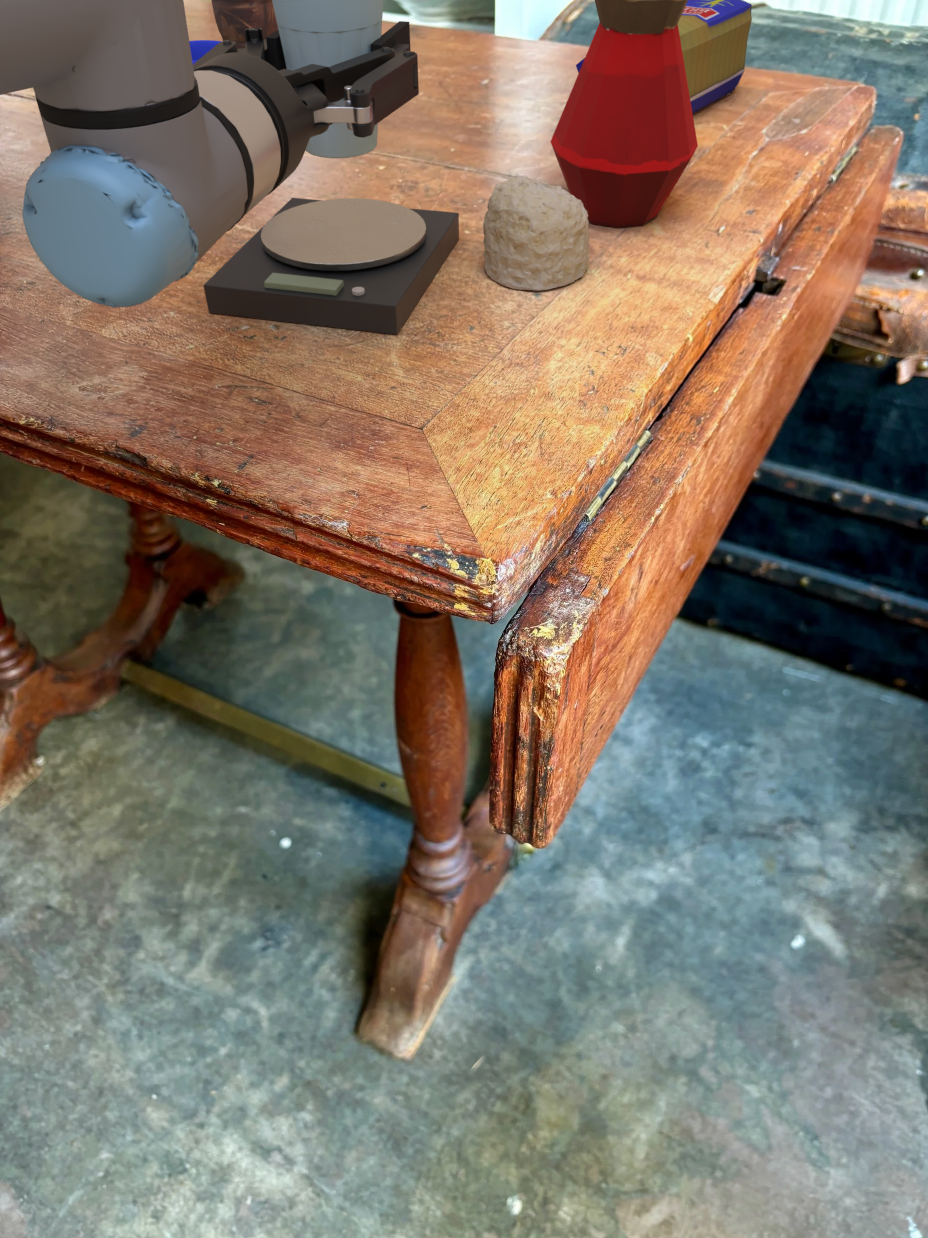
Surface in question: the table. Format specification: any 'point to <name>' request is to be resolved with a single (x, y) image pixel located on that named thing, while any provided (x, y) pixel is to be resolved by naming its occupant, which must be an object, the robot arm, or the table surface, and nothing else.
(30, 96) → the table surface
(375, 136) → the cup
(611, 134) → the red faceted vase
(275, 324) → the table surface
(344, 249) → the scale platform
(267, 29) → the mortar and pestle
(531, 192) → the rock
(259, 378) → the table surface
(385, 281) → the scale
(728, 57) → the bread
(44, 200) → the robot arm
